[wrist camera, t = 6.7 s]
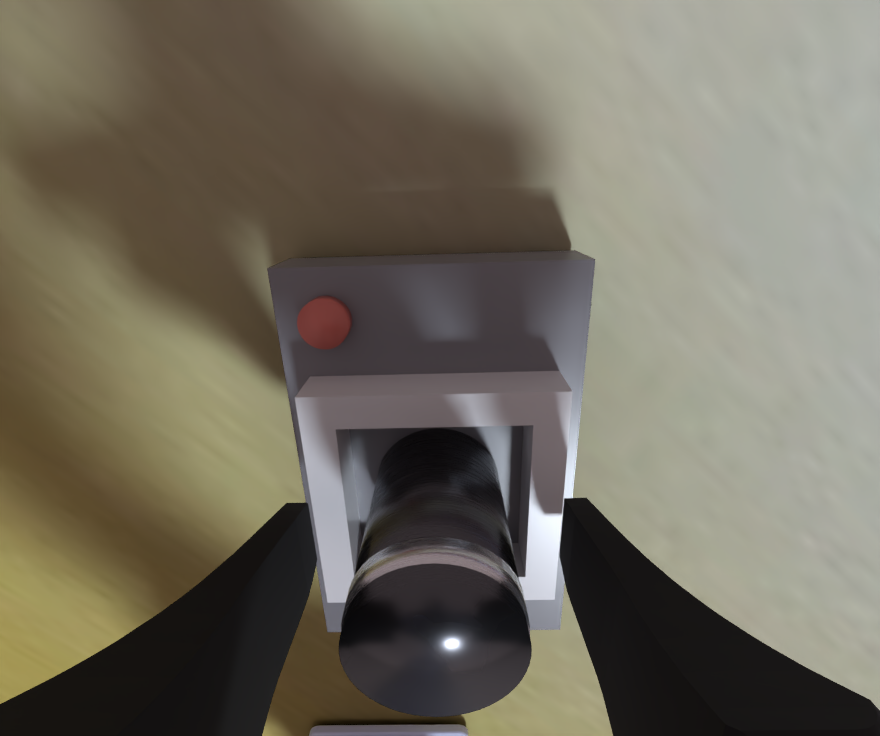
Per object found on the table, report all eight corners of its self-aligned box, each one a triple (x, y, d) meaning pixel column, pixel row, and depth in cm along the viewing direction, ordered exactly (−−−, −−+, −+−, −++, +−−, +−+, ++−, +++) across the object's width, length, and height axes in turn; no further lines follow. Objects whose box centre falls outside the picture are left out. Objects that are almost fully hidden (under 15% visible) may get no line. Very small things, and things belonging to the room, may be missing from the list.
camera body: (548, 586, 19) (570, 667, 16) (338, 589, 19) (317, 670, 16) (575, 250, 14) (614, 268, 11) (290, 258, 14) (245, 277, 11)
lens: (488, 537, 16) (512, 726, 10) (371, 524, 16) (331, 709, 10) (510, 435, 14) (554, 591, 9) (382, 419, 14) (342, 568, 9)
